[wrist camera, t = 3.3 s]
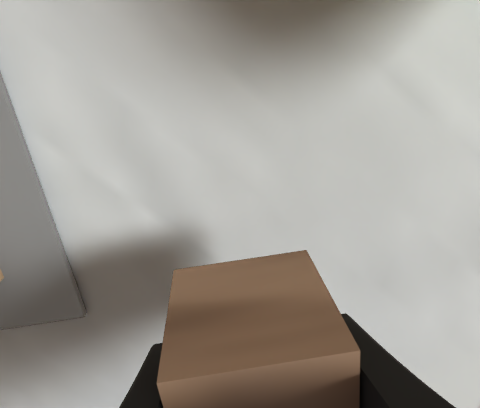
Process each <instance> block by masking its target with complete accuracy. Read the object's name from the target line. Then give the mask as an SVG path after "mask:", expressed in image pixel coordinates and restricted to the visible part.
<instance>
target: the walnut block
mask: <svg viewBox="0 0 480 408" xmlns="http://www.w3.org/2000/svg"><path fill="white" fill-rule="evenodd" d="M157 387H158V390H159V394H160V397H161V401H162V405H163V408H359V394H360V349H359V347H358V345H357V343H356V341H355V340H354V338H353V336H352V334H351V332H350V330H349V328H348V327H347V325H346V323H345V321H344V319H343V317H342V315H341V314H340V312H339V310H338V308H337V306H336V304H335V302H334V301H333V299H332V297H331V295H330V293H329V291H328V289H327V288H326V286H325V284H324V282H323V280H322V278H321V276H320V275H319V273H318V271H317V269H316V267H315V265H314V263H313V261H312V260H311V258H310V256H309V254H308V252H307V250H304V251H297V252H290V253H284V254H277V255H270V256H263V257H257V258H250V259H243V260H237V261H230V262H223V263H216V264H210V265H203V266H196V267H189V268H183V269H176V270H174V272H173V278H172V285H171V291H170V298H169V305H168V311H167V318H166V324H165V331H164V337H163V344H162V351H161V357H160V364H159V370H158V377H157Z"/></svg>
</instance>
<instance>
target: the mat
mask: <svg viewBox="0 0 480 408" xmlns="http://www.w3.org/2000/svg"><path fill="white" fill-rule="evenodd" d="M0 269H1V271H2V274H3V276H4V278H3V279H2V281H1V282H0V330H3V329H10V328H16V327H23V326H29V325H36V324H42V323H49V322H55V321H62V320H68V319H75V318H81V317H85V315H86V313H87V312H86V309H85V306H84V304H83V301H82V298H81V295H80V292H79V290H78V287H77V284H76V281H75V278H74V276H73V273H72V270H71V267H70V265H69V262H68V259H67V256H66V253H65V251H64V248H63V245H62V242H61V239H60V237H59V234H58V231H57V228H56V226H55V223H54V220H53V217H52V214H51V212H50V209H49V206H48V203H47V200H46V198H45V195H44V192H43V189H42V186H41V184H40V181H39V178H38V175H37V173H36V170H35V167H34V164H33V161H32V159H31V156H30V153H29V150H28V147H27V145H26V142H25V139H24V136H23V134H22V131H21V128H20V125H19V122H18V120H17V117H16V114H15V111H14V108H13V106H12V103H11V100H10V97H9V95H8V92H7V89H6V86H5V83H4V81H3V78H2V75H1V72H0Z"/></svg>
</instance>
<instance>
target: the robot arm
mask: <svg viewBox="0 0 480 408" xmlns="http://www.w3.org/2000/svg"><path fill="white" fill-rule="evenodd" d="M341 315H342V317H343V319H344V321H345V323H346V325H347V327H348V328H349V330H350V332H351V334H352V336H353V338H354V340H355V341H356V343H357V345H358V347H359V349H360V394H359V408H455V407H454V406H453V405H451V404H450V403H449V402H448V401H446V400H445V399H444V398H442V397H441V396H440V395H439V394H437V393H436V392H435V391H433V390H432V389H431V388H430V387H428V386H427V385H426V384H425V383H423V382H422V381H421V380H420V379H419V378H417V377H416V376H415V375H414V374H413V373H411V372H410V371H409V370H408V369H407V368H406V367H404V366H403V365H402V364H401V363H400V362H399V361H397V360H396V359H395V358H394V357H393V356H392V355H391V354H389V353H388V352H387V351H386V350H385V349H384V348H383V347H382V346H381V345H379V344H378V343H377V342H376V341H375V340H374V339H373V338H372V337H371V336H370V335H369V334H368V333H367V332H365V331H364V330H363V329H362V328H361V327H360V326H359V325H358V324H357V323H356V322H355V321H354V320H353V319H352V318H351V317H350V316H349V315H347V314H341ZM162 344H163V343H159V344H154V345H153V346H152V347H151V349H150V351H149V353H148V355H147V357H146V359H145V361H144V363H143V365H142V367H141V369H140V371H139V373H138V375H137V377H136V379H135V380H134V382H133V384H132V386H131V388H130V390H129V392H128V393H127V395H126V397H125V399H124V400H123V402H122V404H121V405H120V407H119V408H163V405H162V401H161V397H160V394H159V390H158V387H157V377H158V370H159V364H160V357H161V351H162Z"/></svg>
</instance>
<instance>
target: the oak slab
mask: <svg viewBox="0 0 480 408" xmlns="http://www.w3.org/2000/svg"><path fill="white" fill-rule="evenodd" d="M3 278H4V276H3V274H2V271H1V269H0V282H1V281H2V279H3Z"/></svg>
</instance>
